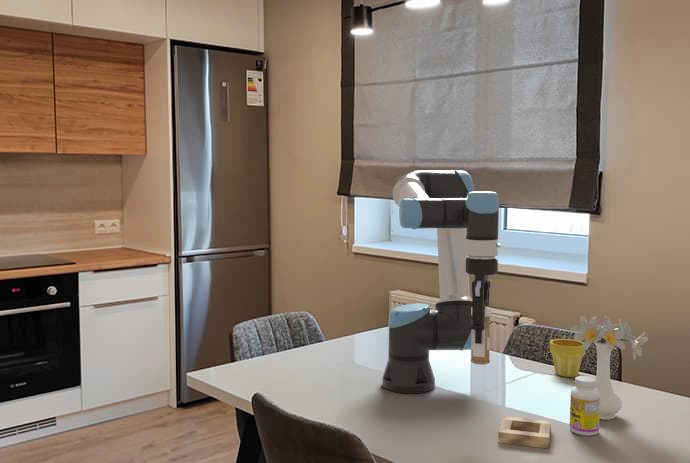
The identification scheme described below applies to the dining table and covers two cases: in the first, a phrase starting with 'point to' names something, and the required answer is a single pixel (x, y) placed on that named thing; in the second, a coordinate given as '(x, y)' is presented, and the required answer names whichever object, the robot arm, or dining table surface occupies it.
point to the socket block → (525, 432)
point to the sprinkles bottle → (487, 340)
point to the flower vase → (607, 356)
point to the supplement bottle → (585, 407)
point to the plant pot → (567, 356)
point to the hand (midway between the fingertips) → (480, 353)
